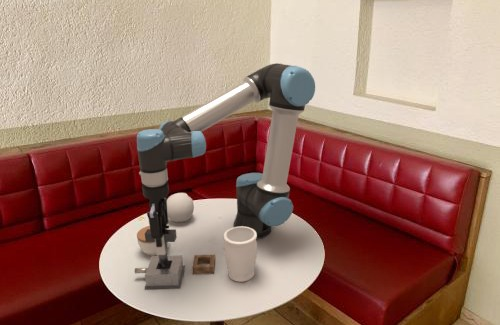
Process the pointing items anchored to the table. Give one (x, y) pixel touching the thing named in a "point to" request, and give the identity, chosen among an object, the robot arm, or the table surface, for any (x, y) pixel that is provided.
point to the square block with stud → (163, 273)
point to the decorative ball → (179, 207)
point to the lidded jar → (146, 246)
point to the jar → (240, 252)
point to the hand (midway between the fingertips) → (162, 250)
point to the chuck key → (168, 237)
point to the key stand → (203, 268)
